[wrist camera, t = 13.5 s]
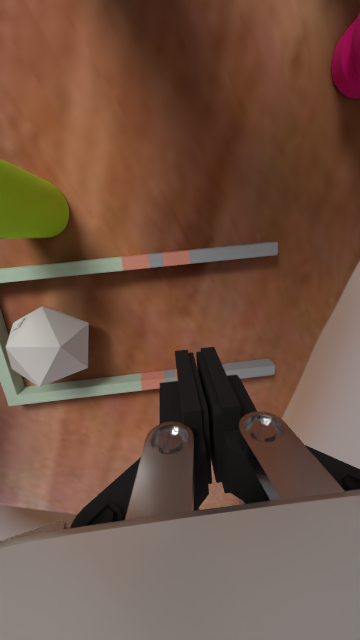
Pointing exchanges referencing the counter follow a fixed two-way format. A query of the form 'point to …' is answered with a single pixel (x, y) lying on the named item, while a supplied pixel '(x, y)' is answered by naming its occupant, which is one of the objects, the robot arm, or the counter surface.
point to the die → (48, 346)
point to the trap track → (124, 383)
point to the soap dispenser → (29, 205)
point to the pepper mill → (348, 62)
